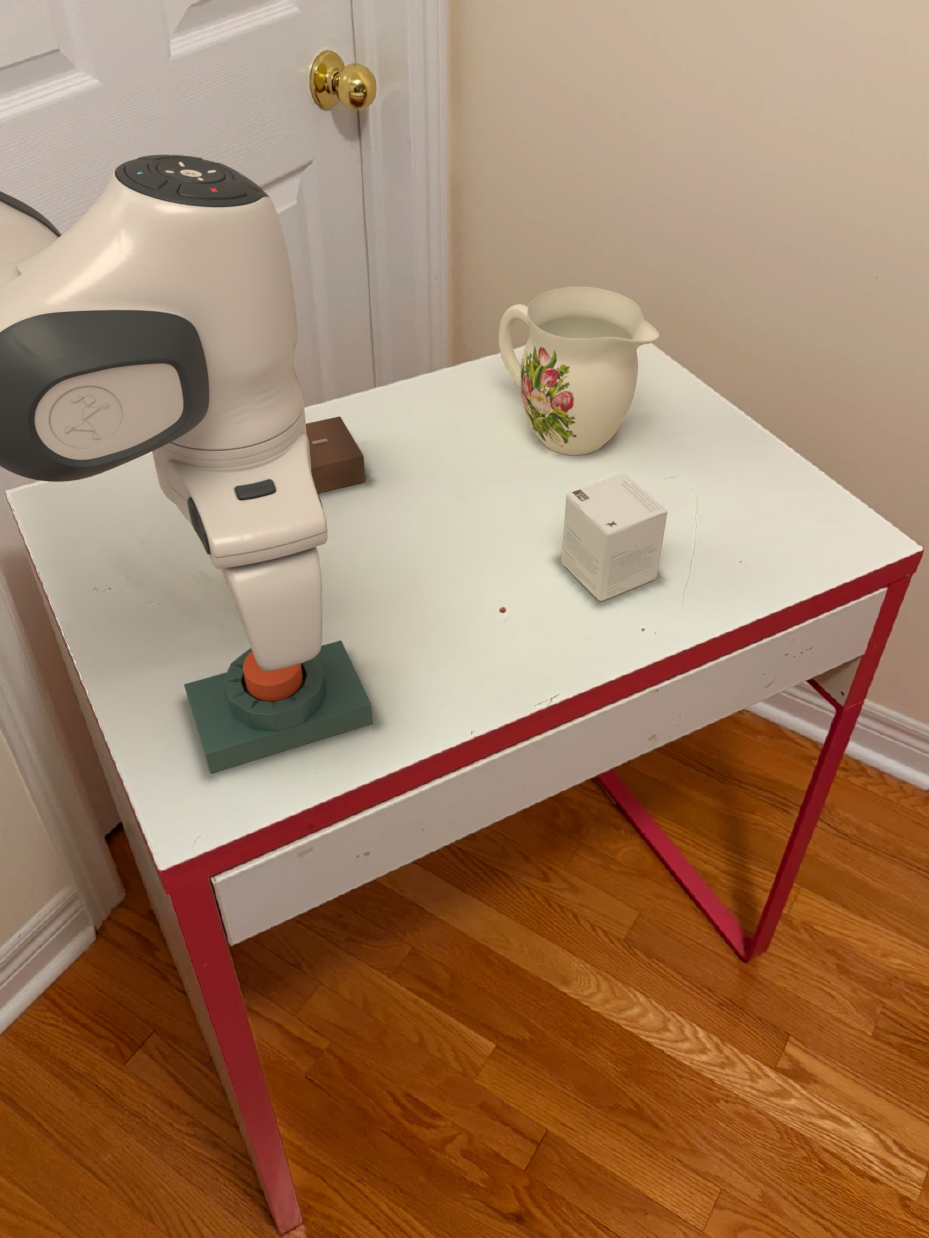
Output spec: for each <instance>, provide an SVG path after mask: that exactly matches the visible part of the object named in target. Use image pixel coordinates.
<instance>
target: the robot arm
mask: <svg viewBox="0 0 929 1238" xmlns="http://www.w3.org/2000/svg"><path fill="white" fill-rule="evenodd" d="M298 334H299V332H298V321H297V311H296V300H295V293H294V284H293V278H292V272H291V265H290V259H289V254H288V249H287V243H286V239H285V235H284V232H283V228H282V224H281V221H280V218H279V214H278V211H277V209H276V206H275V203H274V202H273V200H272V198H271V197H270V195H269V194H267V192H265V191H264V190H263V189H262V188H261V186H259V184H257V183H256V182H254V181H253V180H251V179H250V178H249V177H247V176H246V175H244V174H243V173H241V172H239V171H238V170H236V169H234V168H233V167H230V166H228V165H226V164H224V163H222V162H217V161H216V162H215V161H213V160H209V159H203V158H202V157H198V156H192V155H183V154H151V155H144V156H143V155H142V156H140V157H138V158H135V159H130V160H127V161H125V162H122V163H121V164H119V165H118V166H117V167H116V168H115V169H114V170H113V172H112V174H111V176H110V178H109V180H108V183H107V185H106V186H105V188H104V190H103V191H102V193H101V195H99V197H98V198H97V200H96V201H94V203H93V204H92V205H91V206H90V207H89V208H88V209H87V211H85V213H84V214H83V215H82V216H81V217H80V218H79V219H78V220H77V221H76V222H75V223H74V224H73V225H71V227H69V228H68V229H67V230H66V231H65V232H63V233H61V232H60V231H59V229H58V228H57V227H56V226H55V225H54V224H53V222H51V221H50V220H49V219H48V218H47V217H46V216H45V215H43V214H41V212H39V211H38V210H36V209H35V208H34V207H32V206H30V205H29V204H27V203H25V202H23V201H21V200H19V199H18V198H16V197H14V196H12V195H10V194H7V193H5V192H3V191H1V190H0V468H2V469H4V470H6V471H8V472H10V473H12V474H15V475H17V476H20V477H23V478H26V479H29V480H35V481H41V482H47V483H48V482H49V483H50V482H51V483H61V482H62V483H65V482H74V481H79V480H83V479H84V480H85V479H89V478H91V477H95V476H97V475H100V474H104V473H105V472H107V471H108V472H109V471H110V470H113V469H115V468H118V467H120V466H123V465H125V464H128V463H129V462H133V461H134V460H136V459H138V458H139V459H140V458H141V457H143V456H145V455H148V454H150V453H151V452H152V458H153V462H154V467H155V470H156V476H157V481H158V485H159V488H160V490H161V491H162V493H163V494H164V496H165V497H166V498H167V499H168V500H169V501H170V502H172V503H173V504H174V505H175V506H176V507H177V509H178V510H179V512H180V513H181V514H182V515H183V516H184V518H185V519H186V520H187V521H188V523H189V524H190V525H191V526H192V528H193V530H194V531H195V533H196V535H197V536H198V538H199V540H200V542H201V545H202V546H203V548H204V551H205V553H206V554H207V555H208V556H209V559H210V562H211V564H212V565H213V567H214V568H216V569H218V570H220V571H221V574H222V576H223V579H224V581H225V584H226V586H227V589H228V591H229V594H230V596H231V600H232V601H233V604H234V606H235V607H234V608H235V609H236V612H237V614H238V617H239V619H240V622H241V624H242V628H243V630H244V632H245V634H246V637H247V641H248V644H249V646H250V648H251V649H252V652H253V654H254V657H255V660H256V662H257V664H258V666H259V667H260V668H261V669H262V670H264V671H272V670H277V669H282V668H286V667H291V666H294V665H297V664H300V663H304V662H306V661H309V660H311V659H313V658H315V657H316V656H317V654H318V653H319V652H320V650H321V646H322V645H323V582H322V581H323V580H322V579H323V578H322V568H321V561H320V555H319V552H318V548H317V547H319V546H322V545H325V544H326V543H327V542H328V524H327V523H328V522H327V518H326V517H327V516H326V514H325V511H324V507H323V502H322V500H321V497H320V493H318V490H317V487H316V484H315V480H314V477H313V474H312V472H311V459H310V448H309V440H308V437H307V432H306V424H307V422H306V412H305V400H304V393H303V389H302V386H301V383H300V381H299V378H298V376H297V374H296V370H295V367H294V356H295V350H296V346H297V341H298Z"/></svg>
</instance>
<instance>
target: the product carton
mask: <svg viewBox="0 0 929 1238" xmlns="http://www.w3.org/2000/svg"><path fill="white" fill-rule="evenodd" d="M667 517H668V510H667V509H666V508H664V507H663V506H662V505H661V504H660V503H659V502H657V500H655V499H654V497H652V496H651V495H650V494H649V493H648V492H646V490H644V489H643V488H642V487H641V486H639V485H638V484H637V483H636V482H635V481H634V480H633V479H632V478H631V477H630V476H629V475H627V474H626V473H622V474H618V475H615V476H612V477H610V478H607V479H604V480H602V481H599V482H596V483H593V484H590V485H587V486H584V487H581V488H580V489H576V490H574V491H571V492H568V493H567V494H566V496H565V508H564V521H563V533H562V547H561V557H560V563H561V564H562V565H563V566H564V567H565V568H566V569H567V570H568V571H569V572H570V573H571V574H572V575H573V576H574V577H575V578H576V579H577V580H578V581H579V583H581V585H583V586H584V587H585V588H586V590H588V592H589V593H590V594H592V595H593V597H595V598H596V599H597V601H599V602H603V601H605V600H608V599H611V598H612V597H615V596H618V595H620V594H623V593H625V592H627V591H630V590H633V589H635V588H638V587H641V586H643V585H645V584H648V583H650V582H653V581H654V580H656V579H657V578H658V574H659V567H660V563H661V562H660V561H661V555H662V549H663V542H664V536H665V531H666V523H667Z"/></svg>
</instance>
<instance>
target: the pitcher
mask: <svg viewBox="0 0 929 1238" xmlns="http://www.w3.org/2000/svg"><path fill="white" fill-rule="evenodd" d="M517 319H519V320H522V321H523V322H524V323H525V324H527V326H528V329H529V336H528V339H527V341H526V344H525V346H524V349H523V352H522V355H521V359H520V362H519V359H518V358H517V356H516V353H515V349H514V344H513V328H514V324H515V321H516V320H517ZM660 336H661V333H660V332H659V330H658V329H657V328H656V327H655V326H654V325H652V324H651V323H650V322H648V321H647V320H646V319H645V317H644V314H643V310H642V308H641V307H640V305H639V304H638V303H637V302H636V301H634V300H632V299H631V298H629V297H627V296H625V295H624V294H621V293H618V292H616V291H612V290H609V289H605V288H600V287H595V286H580V285H579V286H578V285H577V286H565V287H559V288H553V289H550V290H547V291H545V292H543V293H540V294H539V295H537V296H536V297H534V298H533V299H532V300H531V301H530V302H529V303H528V305H525V304H523V303H517V304H513V305H511V306H509V307H508V308H507V309H506V310H505V311H504V313H503V314H502V317H501V319H500V324H499V328H498V347H499V353H500V357H501V360H502V362H503V364H504V366H505V368H506V370H507V372H508V373H509V375H510V376H511V378H512V379H513V381H514V382H515V383H516V384H517V385H518V386H519V389H520V395H521V400H522V405H523V409H524V412H525V416H526V418H527V421H528V423H529V426H530V427H531V429H532V431H533V433H534V434H535V435H536V436H537V438H538V439H539V440H540V442H541V443H542V444H543V446H545V447H546V448H548V449H549V450H552V451H554V452H556V453H559V454H563V455H569V456H581V455H582V456H583V455H587V454H591V453H594V452H596V451H598V450H600V449H601V448H603V446H604V445H605V444H606V443H607V442H609V441H610V440H611V439H612V438H613V437H614V436H615V435H616V433H617V432H618V430H619V429H620V427H621V426H622V424H623V422H624V420H625V419H626V417H627V414H628V413H629V410H630V408H631V405H632V402H633V400H634V396H635V393H636V388H637V381H638V375H639V358H638V351H637V350H638V349H639V347H642V346H644V345H650V344H652V343H655V342H657V341H658V340H659V339H660Z"/></svg>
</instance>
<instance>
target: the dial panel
mask: <svg viewBox="0 0 929 1238" xmlns="http://www.w3.org/2000/svg"><path fill="white" fill-rule="evenodd" d="M306 432H307V437H308V440H309V448H310V459H311V472H312V474H313V477H314V480H315V484H316V487H317V490H318V493H319V494H321V493H325V492H329V491H332V490H337V489H342V488H346V487H350V486H355V485H358V484H363V483H366V469H365V468H366V467H365V456H364V454H363V452H362V451H361V449H360V447H359V446H358V444H357V442H356V440H355V439H354V437H353V435H352V433H351V432H350V430H349V429H348V427H347V425H346V424H345V422H344V419H342V417H341V415H340V416H335V417H330V418H326V419H321V420H317V421H312V422H306Z"/></svg>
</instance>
